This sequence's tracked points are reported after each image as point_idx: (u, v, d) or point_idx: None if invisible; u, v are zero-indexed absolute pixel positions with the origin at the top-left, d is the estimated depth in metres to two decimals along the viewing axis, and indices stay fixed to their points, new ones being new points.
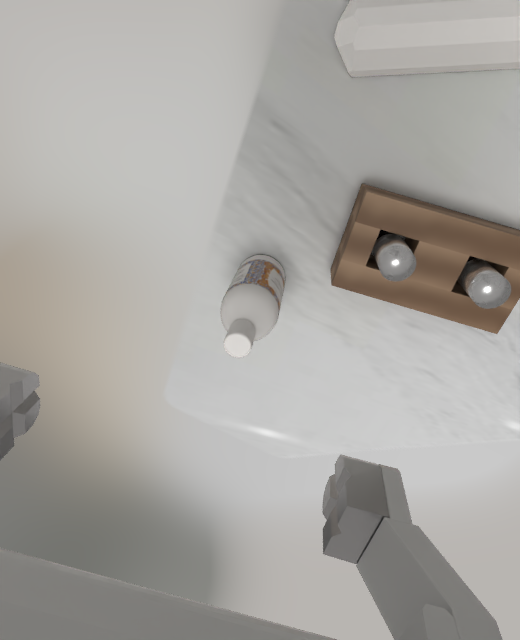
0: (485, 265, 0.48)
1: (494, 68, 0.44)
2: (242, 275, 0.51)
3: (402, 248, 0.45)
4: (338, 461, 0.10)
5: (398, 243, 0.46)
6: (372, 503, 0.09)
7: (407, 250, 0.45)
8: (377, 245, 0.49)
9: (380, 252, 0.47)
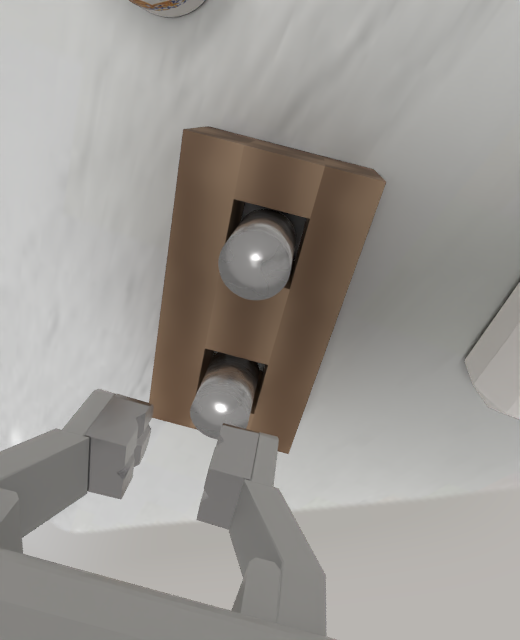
0: (255, 388, 0.30)
1: (498, 317, 0.32)
2: None
3: (288, 271, 0.22)
4: None
5: (292, 259, 0.24)
6: (236, 466, 0.09)
7: (284, 281, 0.23)
8: (276, 216, 0.25)
9: (272, 227, 0.23)
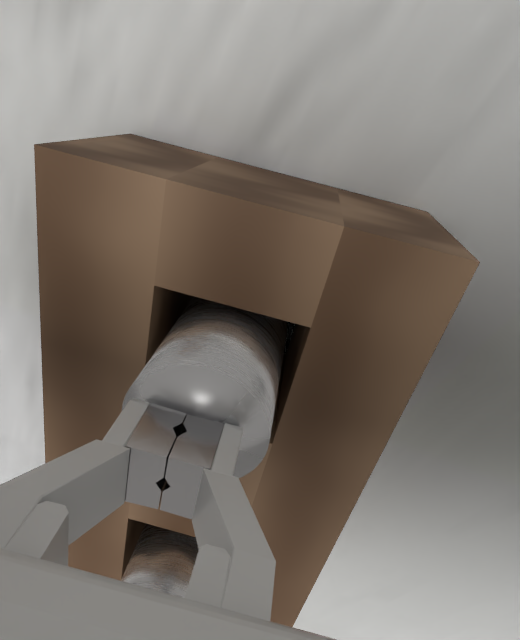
0: None
1: None
2: None
3: (265, 441, 0.11)
4: None
5: (275, 398, 0.12)
6: (197, 456, 0.09)
7: (258, 457, 0.11)
8: None
9: (234, 343, 0.11)
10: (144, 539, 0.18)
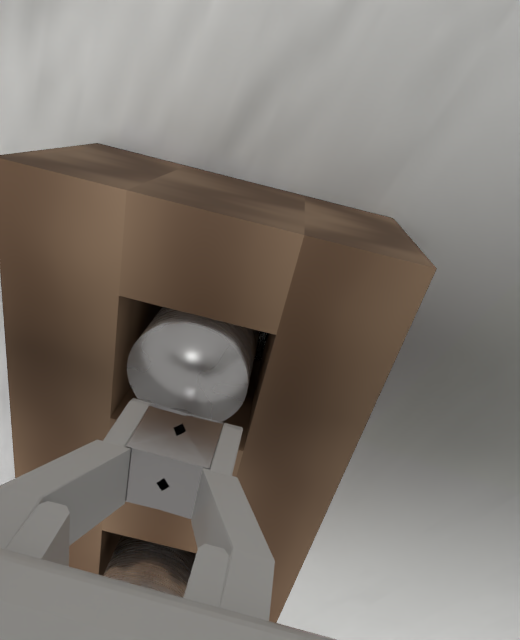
0: None
1: None
2: None
3: (244, 386, 0.13)
4: None
5: (253, 356, 0.15)
6: (196, 456, 0.09)
7: (239, 400, 0.13)
8: None
9: None
10: (119, 551, 0.18)
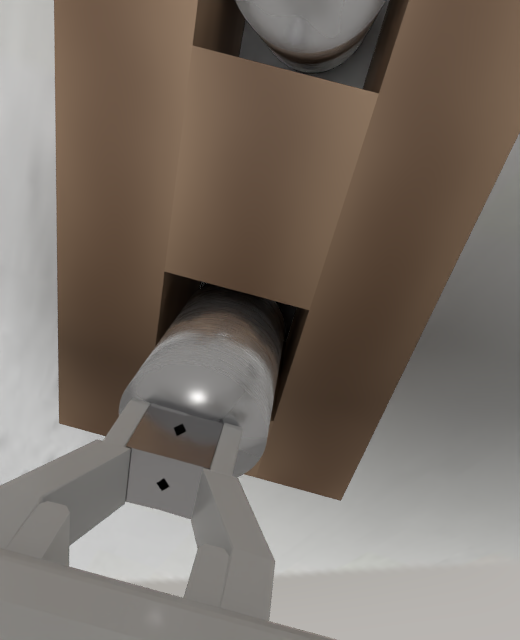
0: (279, 362, 0.14)
1: None
2: None
3: None
4: None
5: None
6: (196, 456, 0.09)
7: None
8: None
9: None
10: (185, 307, 0.14)
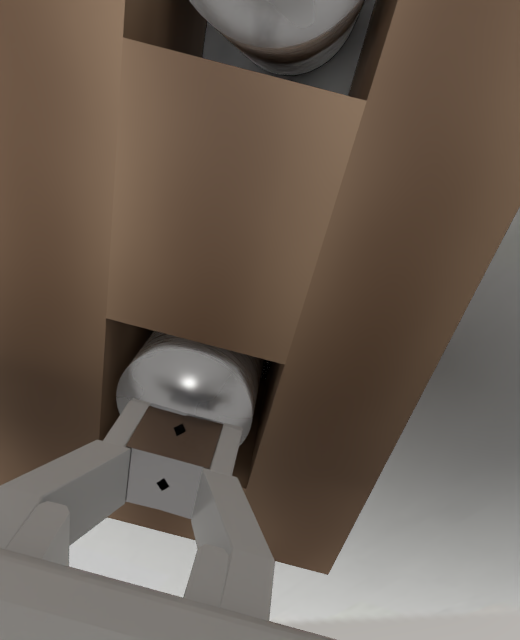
0: None
1: None
2: None
3: None
4: None
5: None
6: (196, 456, 0.09)
7: None
8: None
9: None
10: None
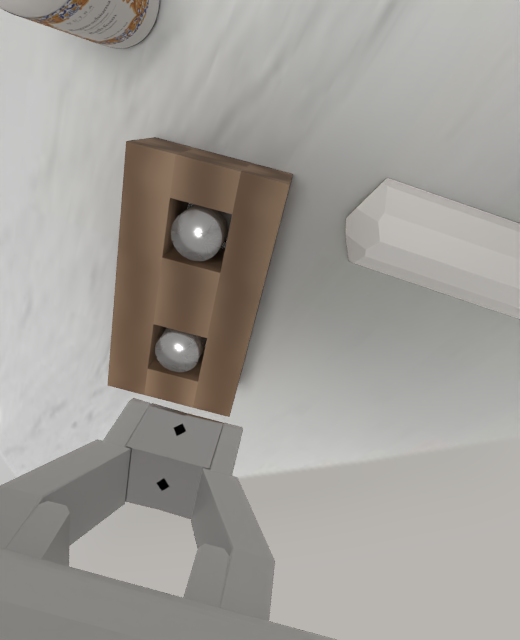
0: None
1: None
2: None
3: (220, 239, 0.32)
4: None
5: (225, 232, 0.33)
6: (196, 455, 0.09)
7: (218, 246, 0.32)
8: None
9: (209, 209, 0.32)
10: None
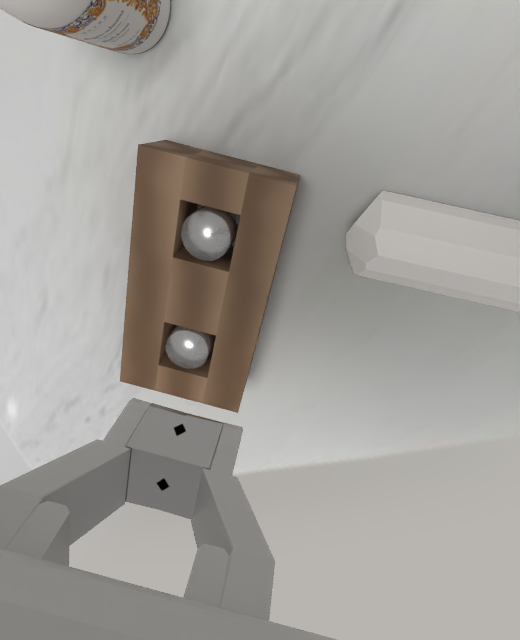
0: None
1: None
2: None
3: (229, 239, 0.32)
4: None
5: (233, 232, 0.34)
6: (196, 455, 0.09)
7: (227, 246, 0.33)
8: None
9: (218, 210, 0.33)
10: None
